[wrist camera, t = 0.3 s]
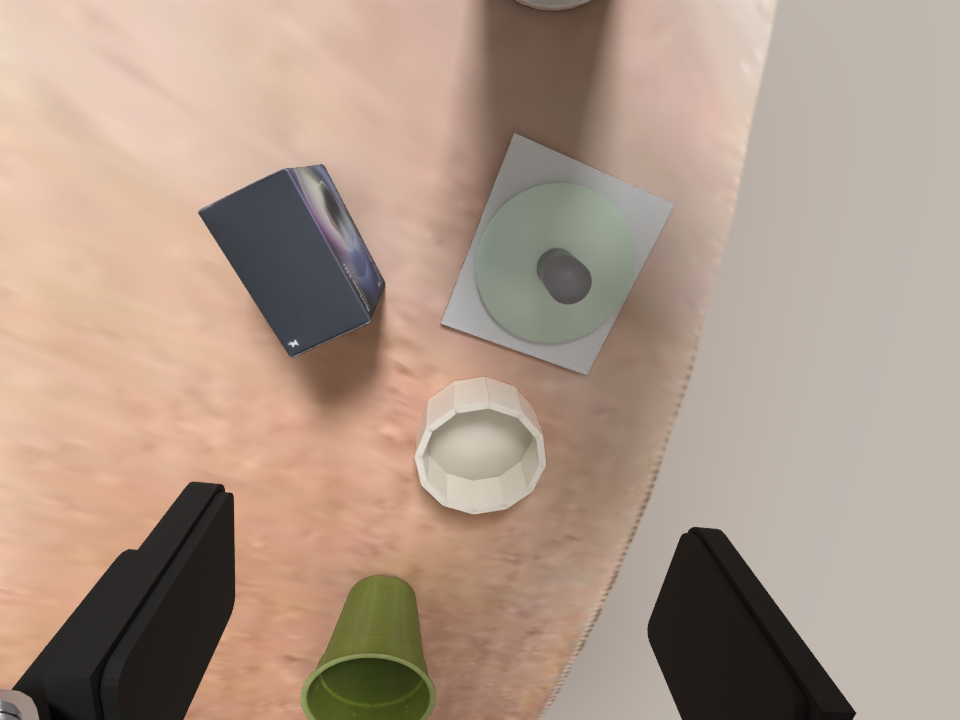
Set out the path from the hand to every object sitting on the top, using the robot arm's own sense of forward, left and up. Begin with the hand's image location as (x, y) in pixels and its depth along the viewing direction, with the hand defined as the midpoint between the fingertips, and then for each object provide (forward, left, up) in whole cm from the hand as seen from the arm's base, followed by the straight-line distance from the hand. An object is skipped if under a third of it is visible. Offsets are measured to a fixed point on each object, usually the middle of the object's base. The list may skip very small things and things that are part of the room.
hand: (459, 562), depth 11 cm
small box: (+3, -10, -35) cm, 36 cm away
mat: (-2, +8, -34) cm, 35 cm away
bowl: (+15, +8, -34) cm, 38 cm away
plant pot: (+38, +6, -35) cm, 52 cm away
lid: (-2, +8, -34) cm, 35 cm away
